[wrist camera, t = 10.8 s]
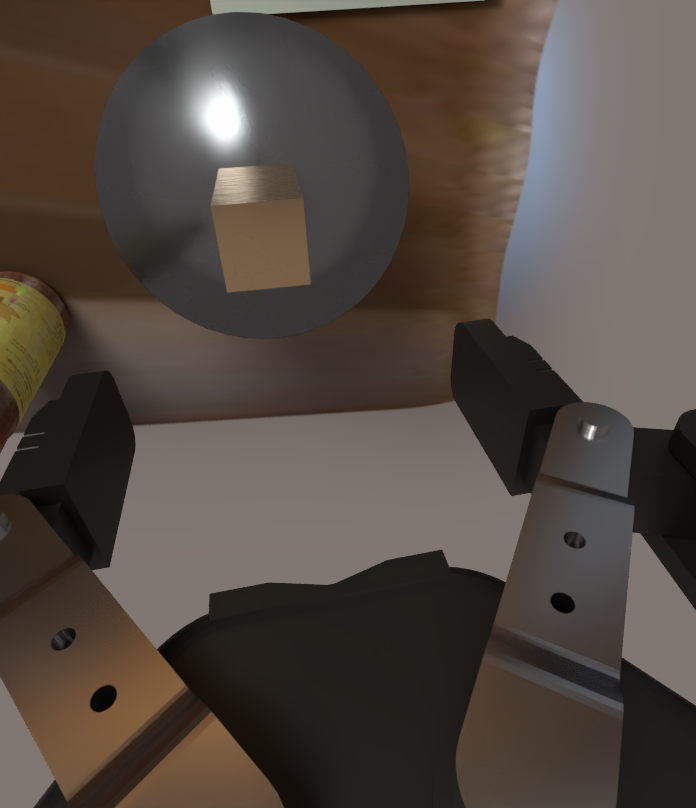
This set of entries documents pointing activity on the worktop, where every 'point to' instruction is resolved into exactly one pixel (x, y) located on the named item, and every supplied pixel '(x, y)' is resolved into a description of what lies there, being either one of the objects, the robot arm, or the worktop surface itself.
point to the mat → (309, 5)
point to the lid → (251, 175)
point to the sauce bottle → (26, 343)
